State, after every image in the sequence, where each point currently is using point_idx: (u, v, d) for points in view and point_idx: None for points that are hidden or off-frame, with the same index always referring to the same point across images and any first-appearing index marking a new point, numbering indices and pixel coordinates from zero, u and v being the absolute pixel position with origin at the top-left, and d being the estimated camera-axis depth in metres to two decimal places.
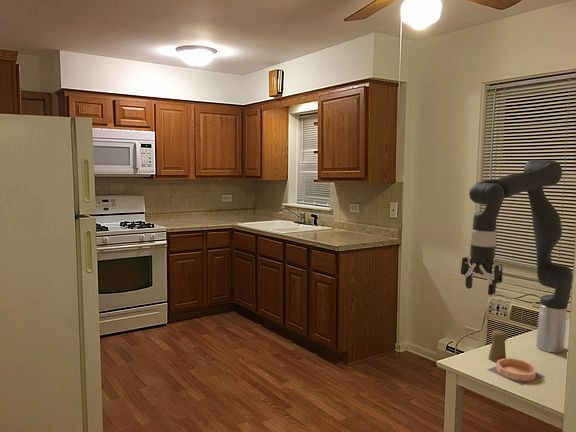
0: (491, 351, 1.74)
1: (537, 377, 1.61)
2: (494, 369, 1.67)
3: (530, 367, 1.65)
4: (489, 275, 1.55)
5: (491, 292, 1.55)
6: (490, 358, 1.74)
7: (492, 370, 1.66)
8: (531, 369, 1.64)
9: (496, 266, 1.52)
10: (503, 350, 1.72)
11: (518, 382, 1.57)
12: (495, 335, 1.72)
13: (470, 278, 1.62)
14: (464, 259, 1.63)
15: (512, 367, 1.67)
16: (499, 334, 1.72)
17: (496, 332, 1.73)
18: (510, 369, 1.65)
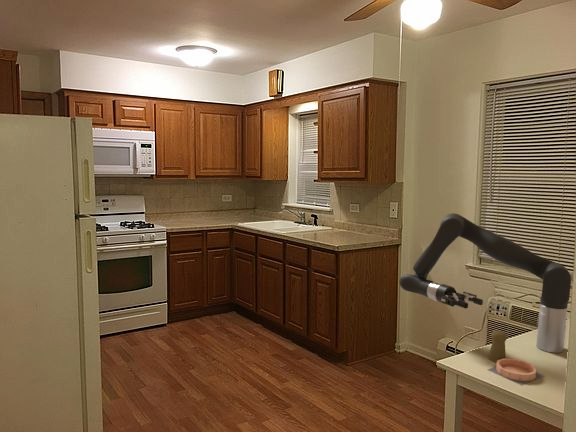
0: (491, 351, 1.74)
1: (537, 377, 1.61)
2: (494, 369, 1.67)
3: (530, 367, 1.65)
4: None
5: (463, 307, 1.80)
6: (490, 358, 1.74)
7: (492, 370, 1.66)
8: (531, 369, 1.64)
9: None
10: (503, 350, 1.72)
11: (518, 382, 1.57)
12: (495, 335, 1.72)
13: (474, 300, 1.86)
14: None
15: (512, 367, 1.67)
16: (499, 334, 1.72)
17: (496, 332, 1.73)
18: (510, 369, 1.65)
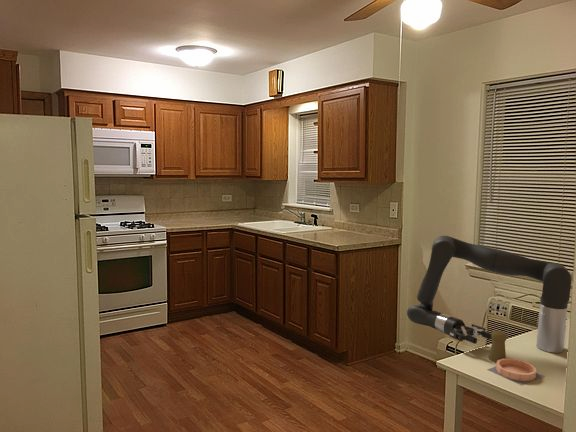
0: (491, 351, 1.74)
1: (537, 377, 1.61)
2: (494, 369, 1.67)
3: (530, 367, 1.65)
4: None
5: None
6: (490, 358, 1.74)
7: (492, 370, 1.66)
8: (531, 369, 1.64)
9: None
10: (503, 350, 1.72)
11: (518, 382, 1.57)
12: (495, 335, 1.72)
13: (482, 333, 1.84)
14: None
15: (512, 367, 1.67)
16: (499, 334, 1.72)
17: (496, 332, 1.73)
18: (510, 369, 1.65)
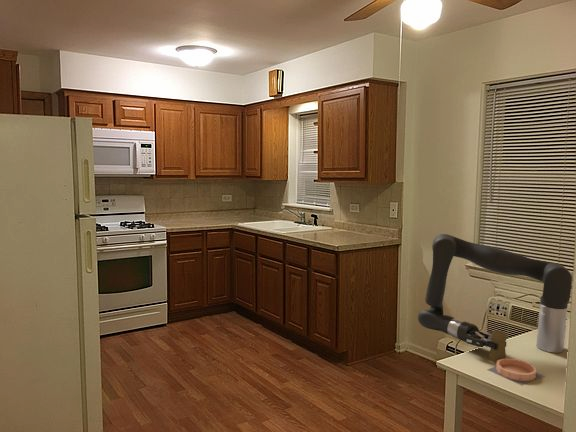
0: (491, 351, 1.74)
1: (537, 377, 1.61)
2: (494, 369, 1.67)
3: (530, 367, 1.65)
4: None
5: None
6: (490, 358, 1.74)
7: (492, 370, 1.66)
8: (531, 369, 1.64)
9: None
10: (503, 350, 1.72)
11: (518, 382, 1.57)
12: (495, 335, 1.72)
13: None
14: (488, 337, 1.84)
15: (512, 367, 1.67)
16: (499, 334, 1.72)
17: (496, 332, 1.73)
18: (510, 369, 1.65)
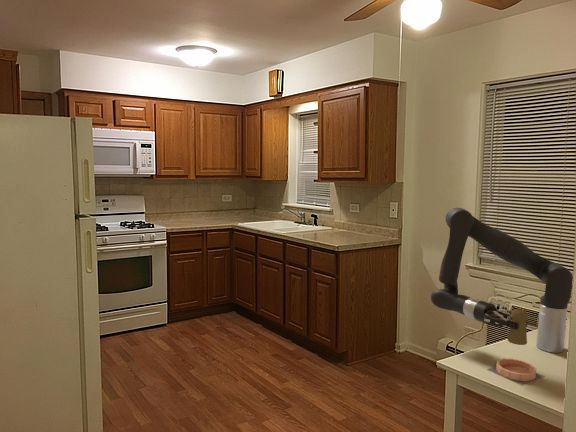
0: (511, 331, 1.62)
1: (537, 377, 1.61)
2: (494, 369, 1.67)
3: (530, 367, 1.65)
4: None
5: (513, 328, 1.60)
6: (510, 339, 1.62)
7: (492, 370, 1.66)
8: (531, 369, 1.64)
9: (485, 322, 1.66)
10: (524, 330, 1.60)
11: (518, 382, 1.57)
12: (516, 314, 1.60)
13: None
14: (507, 317, 1.72)
15: (512, 367, 1.67)
16: (520, 313, 1.60)
17: (516, 311, 1.61)
18: (510, 369, 1.65)
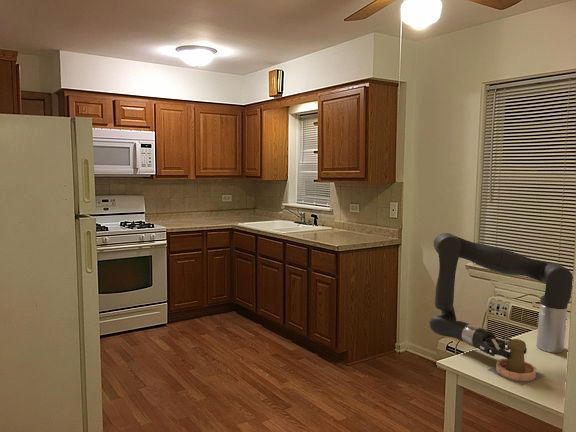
0: (509, 361, 1.63)
1: (537, 377, 1.61)
2: (494, 369, 1.67)
3: (530, 367, 1.65)
4: None
5: None
6: (508, 368, 1.63)
7: (492, 370, 1.66)
8: (531, 369, 1.64)
9: None
10: (522, 360, 1.61)
11: (518, 382, 1.57)
12: (514, 345, 1.61)
13: None
14: None
15: None
16: (518, 343, 1.61)
17: (514, 341, 1.62)
18: None
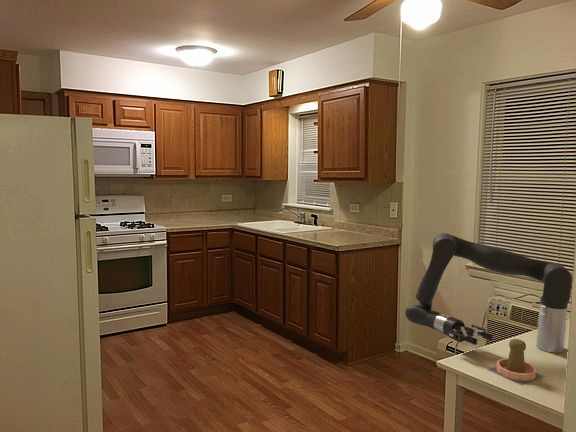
0: (509, 361, 1.63)
1: (537, 377, 1.61)
2: (494, 369, 1.67)
3: (530, 367, 1.65)
4: None
5: None
6: (508, 368, 1.63)
7: (492, 370, 1.66)
8: (531, 369, 1.64)
9: None
10: (522, 360, 1.61)
11: (518, 382, 1.57)
12: (514, 345, 1.61)
13: (483, 334, 1.79)
14: None
15: None
16: (518, 343, 1.61)
17: (514, 341, 1.62)
18: None
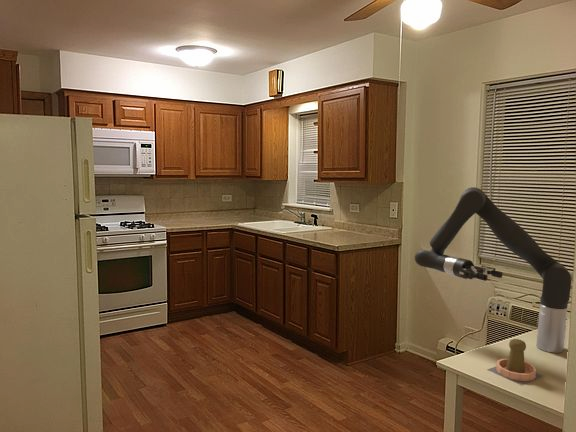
0: (509, 361, 1.63)
1: (537, 377, 1.61)
2: (494, 369, 1.67)
3: (530, 367, 1.65)
4: None
5: (483, 279, 1.75)
6: (508, 368, 1.63)
7: (492, 370, 1.66)
8: (531, 369, 1.64)
9: None
10: (522, 360, 1.61)
11: (518, 382, 1.57)
12: (514, 345, 1.61)
13: (493, 273, 1.81)
14: None
15: None
16: (518, 343, 1.61)
17: (514, 341, 1.62)
18: None
